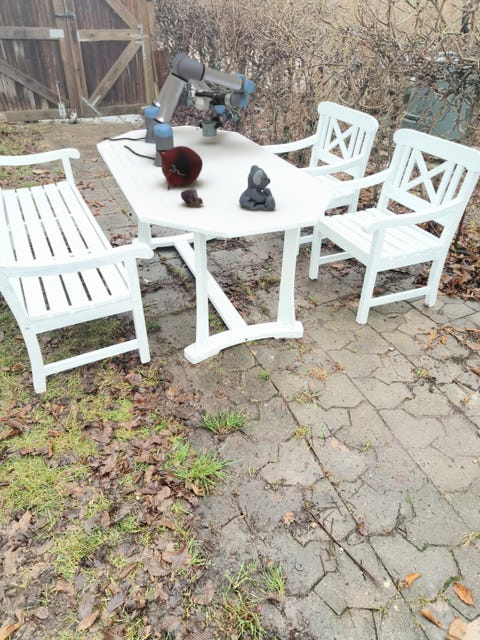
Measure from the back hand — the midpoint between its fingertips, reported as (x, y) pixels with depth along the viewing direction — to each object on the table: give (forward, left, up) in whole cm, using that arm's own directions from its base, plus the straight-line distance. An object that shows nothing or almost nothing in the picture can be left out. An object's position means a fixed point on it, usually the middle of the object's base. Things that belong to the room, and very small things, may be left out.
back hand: (207, 127), depth 328 cm
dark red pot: (+13, -90, -13) cm, 91 cm away
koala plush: (+63, -116, -13) cm, 132 cm away
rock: (+30, -122, -13) cm, 126 cm away
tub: (0, +4, -6) cm, 8 cm away
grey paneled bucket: (-2, -5, +14) cm, 15 cm away
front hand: (-5, -1, +19) cm, 20 cm away
